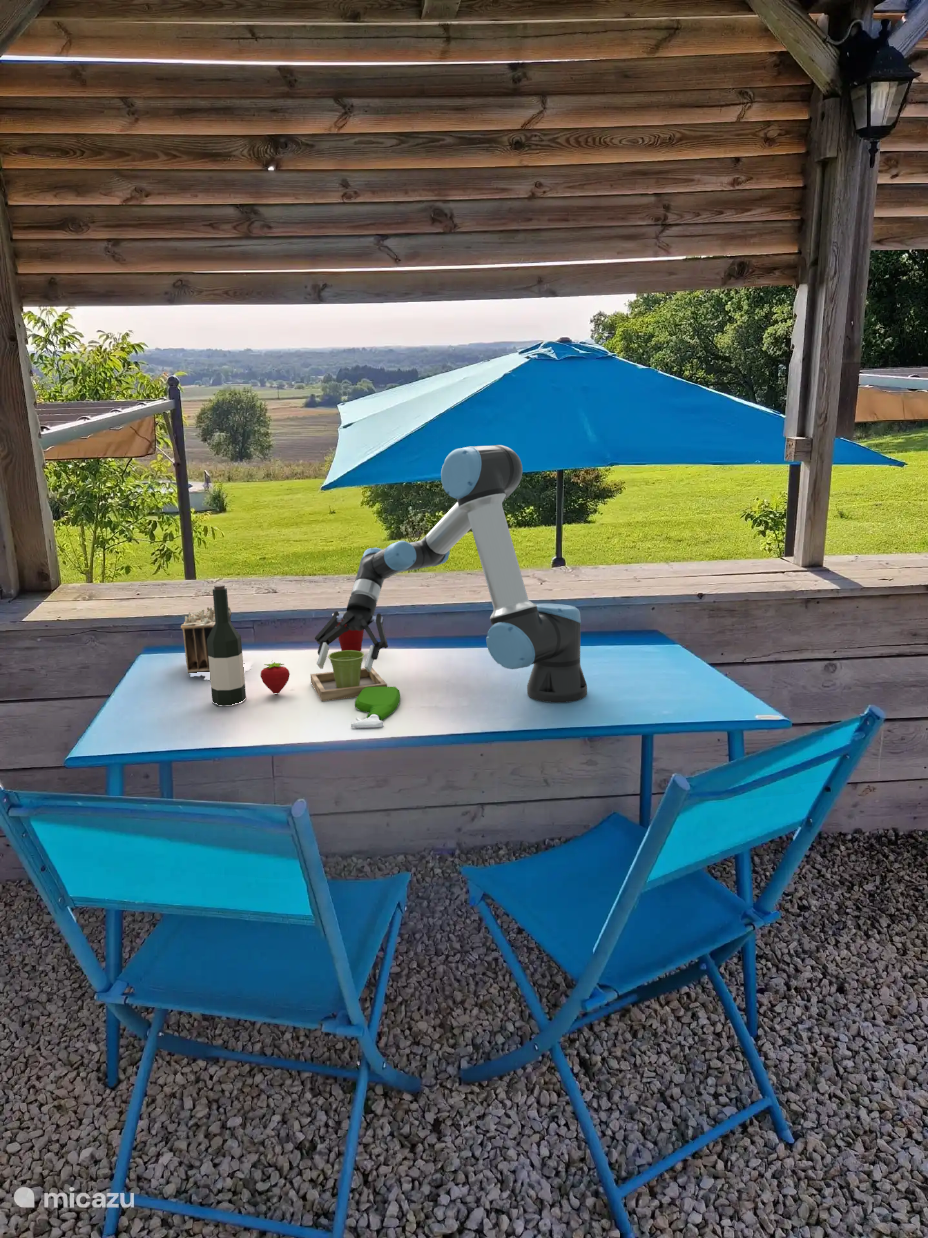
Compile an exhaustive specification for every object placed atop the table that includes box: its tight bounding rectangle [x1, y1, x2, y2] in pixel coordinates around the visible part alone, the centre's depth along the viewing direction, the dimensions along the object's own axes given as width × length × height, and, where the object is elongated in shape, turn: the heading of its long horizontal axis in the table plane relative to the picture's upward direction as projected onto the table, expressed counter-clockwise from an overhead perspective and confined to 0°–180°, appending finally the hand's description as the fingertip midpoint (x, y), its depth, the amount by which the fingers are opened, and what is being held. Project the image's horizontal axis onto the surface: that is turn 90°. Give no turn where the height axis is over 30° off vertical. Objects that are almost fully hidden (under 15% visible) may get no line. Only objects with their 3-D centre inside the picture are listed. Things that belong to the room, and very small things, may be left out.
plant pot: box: [327, 650, 365, 688], centre depth 234 cm, size 9×9×9 cm
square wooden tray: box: [310, 667, 388, 702], centre depth 235 cm, size 17×17×2 cm
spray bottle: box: [350, 686, 401, 729], centre depth 216 cm, size 3×11×24 cm
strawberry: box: [260, 661, 291, 694], centre depth 230 cm, size 6×8×10 cm
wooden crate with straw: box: [180, 605, 232, 674], centre depth 255 cm, size 25×25×19 cm
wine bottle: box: [207, 584, 247, 705], centre depth 223 cm, size 8×8×30 cm
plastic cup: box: [331, 611, 365, 652], centre depth 269 cm, size 11×11×12 cm
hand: (343, 668), depth 231 cm, fingers open, 13 cm apart
